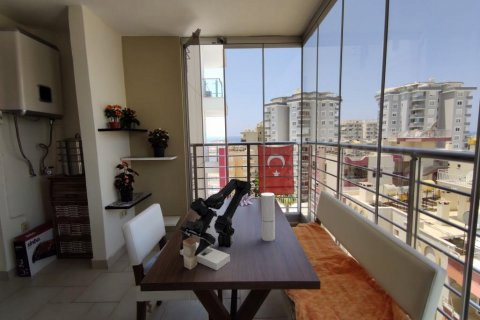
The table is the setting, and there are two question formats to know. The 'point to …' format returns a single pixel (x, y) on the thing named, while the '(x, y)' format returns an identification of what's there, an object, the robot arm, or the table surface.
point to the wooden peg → (189, 253)
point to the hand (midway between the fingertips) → (187, 252)
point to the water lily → (244, 200)
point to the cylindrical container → (268, 216)
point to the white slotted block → (211, 257)
